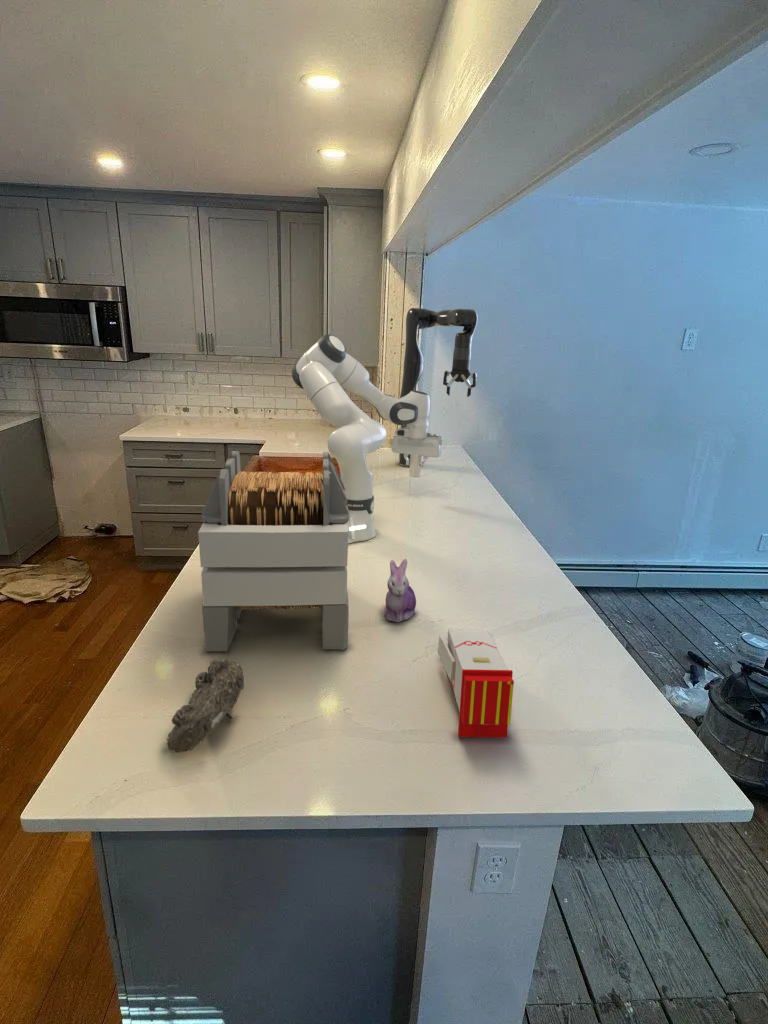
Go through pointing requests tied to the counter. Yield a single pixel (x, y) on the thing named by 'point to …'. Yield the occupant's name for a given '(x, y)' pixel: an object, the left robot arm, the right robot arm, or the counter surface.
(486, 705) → the toy
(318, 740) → the counter surface
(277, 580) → the grey record crate
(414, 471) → the canister
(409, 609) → the figurine
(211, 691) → the fossil
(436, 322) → the right robot arm
